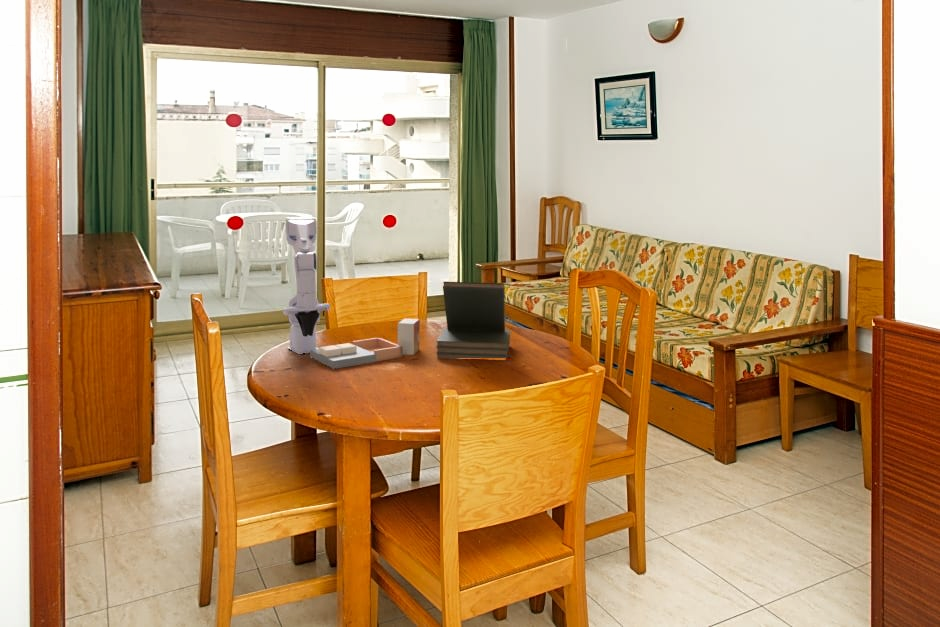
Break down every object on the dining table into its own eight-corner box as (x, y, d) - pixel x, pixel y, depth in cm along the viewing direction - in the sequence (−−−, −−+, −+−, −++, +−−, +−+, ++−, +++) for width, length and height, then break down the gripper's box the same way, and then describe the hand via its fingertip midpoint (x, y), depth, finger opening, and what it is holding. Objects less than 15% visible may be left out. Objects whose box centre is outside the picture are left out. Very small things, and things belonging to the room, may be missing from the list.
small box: (413, 355, 259) (413, 323, 257) (397, 354, 260) (397, 323, 258) (419, 349, 267) (420, 318, 265) (403, 348, 268) (403, 318, 266)
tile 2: (335, 351, 253) (334, 344, 253) (349, 348, 256) (348, 342, 256) (342, 354, 249) (342, 348, 249) (356, 352, 252) (356, 346, 252)
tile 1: (319, 353, 250) (319, 347, 250) (333, 351, 253) (333, 345, 252) (326, 356, 246) (326, 350, 246) (341, 354, 249) (340, 348, 249)
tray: (352, 351, 263) (352, 341, 262) (378, 347, 269) (378, 337, 268) (375, 361, 251) (375, 350, 250) (402, 356, 257) (402, 346, 256)
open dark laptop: (509, 347, 273) (511, 275, 268) (507, 362, 254) (509, 285, 249) (443, 344, 275) (444, 273, 270) (435, 359, 256) (436, 282, 251)
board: (310, 357, 254) (310, 350, 254) (351, 351, 263) (351, 343, 263) (333, 368, 242) (333, 361, 241) (376, 361, 251) (376, 354, 250)
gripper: (289, 296, 233) (290, 341, 236) (334, 291, 242) (334, 335, 245) (279, 292, 239) (281, 336, 242) (323, 288, 248) (324, 330, 250)
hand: (307, 335), depth 244 cm, fingers closed
